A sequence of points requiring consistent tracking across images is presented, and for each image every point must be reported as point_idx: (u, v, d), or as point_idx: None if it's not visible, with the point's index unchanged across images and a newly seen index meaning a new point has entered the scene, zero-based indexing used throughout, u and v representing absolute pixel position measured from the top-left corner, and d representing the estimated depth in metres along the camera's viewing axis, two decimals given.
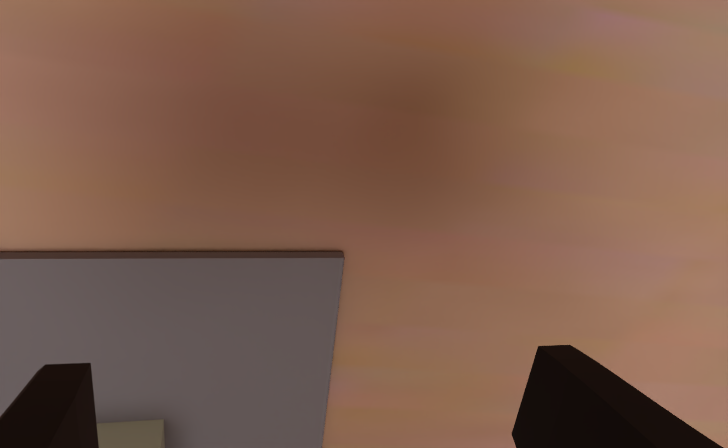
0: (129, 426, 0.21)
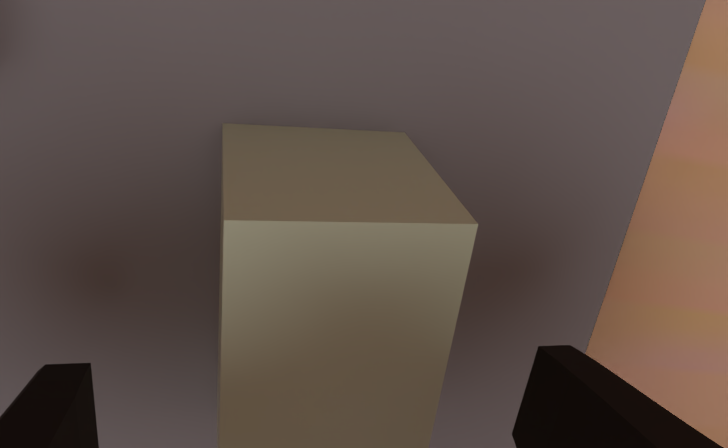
0: (352, 133, 0.12)
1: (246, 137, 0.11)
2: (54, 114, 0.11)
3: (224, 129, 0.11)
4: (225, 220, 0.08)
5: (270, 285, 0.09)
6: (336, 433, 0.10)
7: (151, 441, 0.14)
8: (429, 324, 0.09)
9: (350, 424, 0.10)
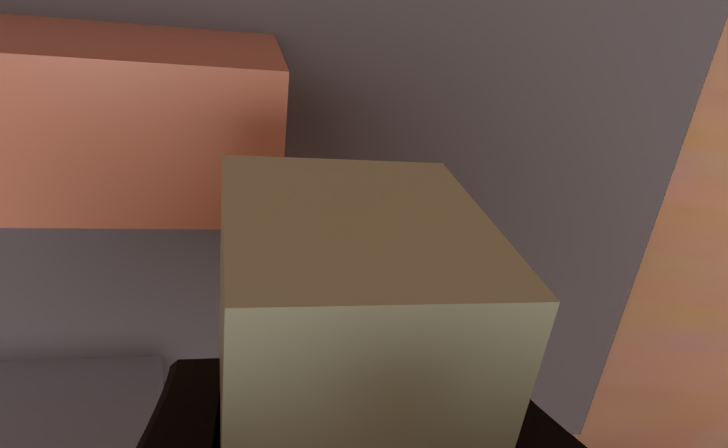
0: (380, 166, 0.10)
1: (251, 174, 0.09)
2: None
3: (224, 163, 0.09)
4: (227, 308, 0.06)
5: (286, 387, 0.06)
6: None
7: None
8: (489, 424, 0.07)
9: None
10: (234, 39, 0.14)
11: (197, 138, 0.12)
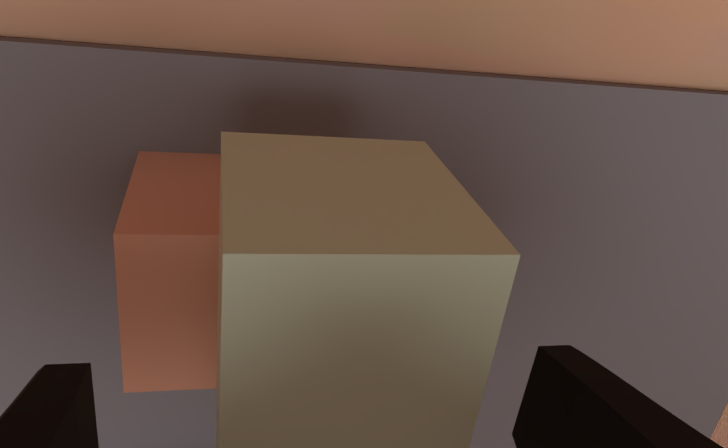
0: (366, 143, 0.10)
1: (248, 148, 0.10)
2: None
3: (223, 139, 0.10)
4: (224, 254, 0.07)
5: (277, 328, 0.07)
6: None
7: None
8: (460, 368, 0.08)
9: None
10: None
11: None
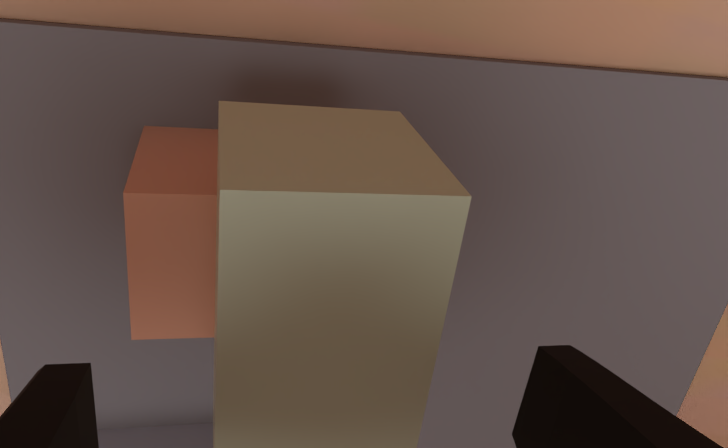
0: (347, 111, 0.12)
1: (242, 113, 0.11)
2: None
3: (220, 106, 0.11)
4: (221, 190, 0.08)
5: (265, 256, 0.09)
6: (330, 405, 0.10)
7: None
8: (423, 297, 0.09)
9: (345, 397, 0.10)
10: None
11: None
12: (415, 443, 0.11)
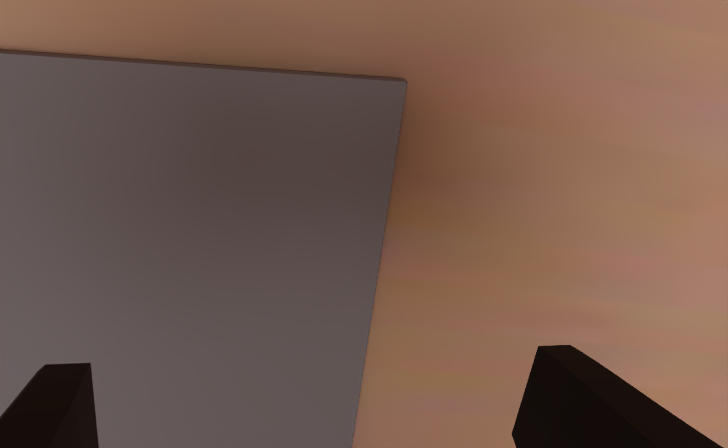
0: None
1: None
2: None
3: None
4: None
5: None
6: None
7: None
8: None
9: None
10: None
11: None
12: None
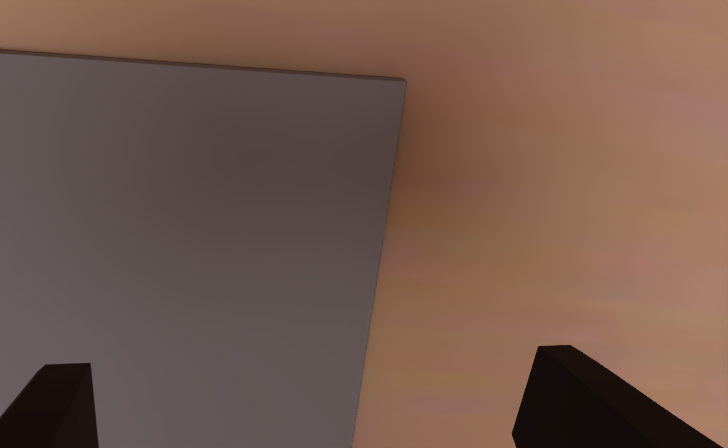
0: None
1: None
2: None
3: None
4: None
5: None
6: None
7: None
8: None
9: None
10: None
11: None
12: None
